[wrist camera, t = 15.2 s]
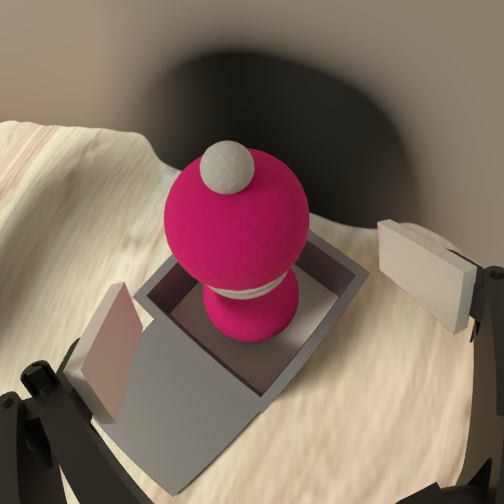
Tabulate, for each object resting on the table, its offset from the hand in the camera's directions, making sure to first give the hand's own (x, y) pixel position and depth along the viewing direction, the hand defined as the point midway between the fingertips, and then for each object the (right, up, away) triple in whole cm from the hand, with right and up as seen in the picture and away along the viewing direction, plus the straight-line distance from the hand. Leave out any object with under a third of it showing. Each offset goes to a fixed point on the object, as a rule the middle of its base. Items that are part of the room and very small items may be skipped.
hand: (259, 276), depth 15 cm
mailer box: (-4, -8, +11) cm, 15 cm away
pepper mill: (0, -4, +13) cm, 13 cm away
